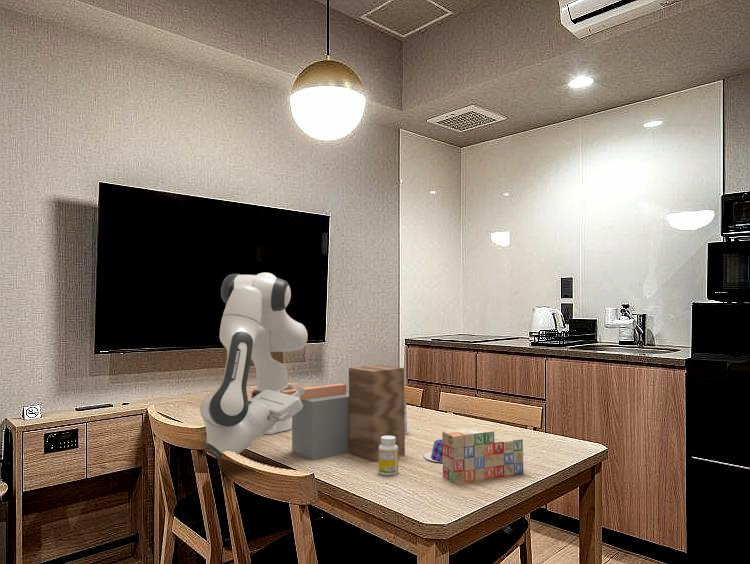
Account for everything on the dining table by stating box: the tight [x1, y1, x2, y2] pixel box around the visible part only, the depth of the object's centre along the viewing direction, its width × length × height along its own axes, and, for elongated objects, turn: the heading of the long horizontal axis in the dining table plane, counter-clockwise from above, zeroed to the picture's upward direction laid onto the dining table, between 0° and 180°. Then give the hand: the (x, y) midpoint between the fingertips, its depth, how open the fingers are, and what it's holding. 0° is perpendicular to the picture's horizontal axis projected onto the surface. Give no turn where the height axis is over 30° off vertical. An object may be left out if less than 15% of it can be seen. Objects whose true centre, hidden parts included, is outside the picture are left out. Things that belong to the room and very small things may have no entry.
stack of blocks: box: [441, 426, 524, 485], centre depth 151 cm, size 21×6×12 cm, turn 112°
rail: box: [280, 383, 347, 400], centre depth 174 cm, size 22×3×3 cm, turn 128°
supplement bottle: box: [378, 436, 399, 477], centre depth 153 cm, size 5×5×10 cm
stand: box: [348, 364, 406, 463], centre depth 172 cm, size 12×12×26 cm
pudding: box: [424, 438, 443, 463], centre depth 167 cm, size 12×12×5 cm
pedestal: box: [291, 391, 349, 461], centre depth 177 cm, size 18×12×17 cm, turn 128°
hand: (296, 388), depth 170 cm, fingers open, 5 cm apart
